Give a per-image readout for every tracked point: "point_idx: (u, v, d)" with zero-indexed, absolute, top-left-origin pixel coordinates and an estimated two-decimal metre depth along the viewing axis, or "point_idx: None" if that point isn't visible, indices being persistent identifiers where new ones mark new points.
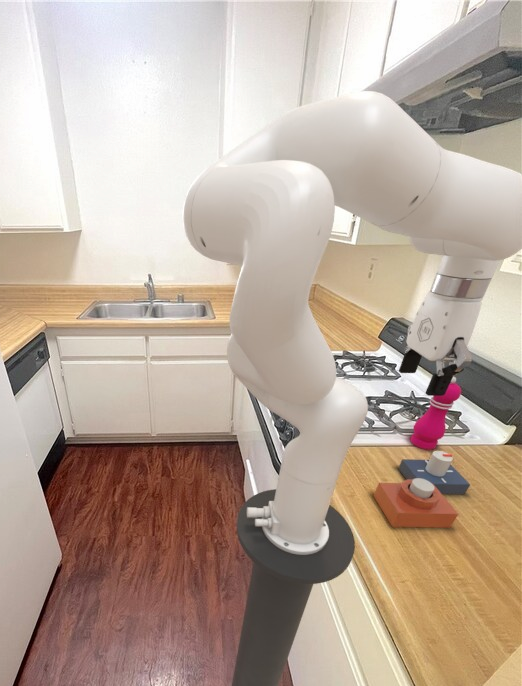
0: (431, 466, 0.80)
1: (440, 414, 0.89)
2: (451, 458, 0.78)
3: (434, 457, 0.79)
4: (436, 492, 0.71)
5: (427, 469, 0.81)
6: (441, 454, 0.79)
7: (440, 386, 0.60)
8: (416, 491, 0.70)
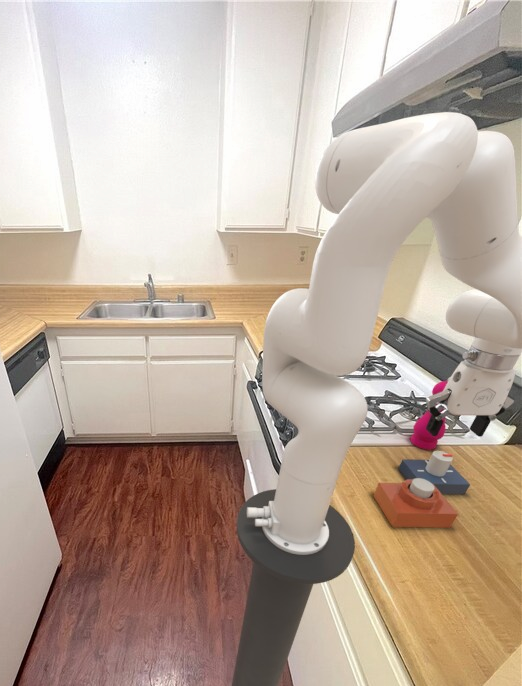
0: (431, 466, 0.80)
1: None
2: (451, 458, 0.78)
3: (434, 457, 0.79)
4: (436, 492, 0.71)
5: (427, 469, 0.81)
6: (441, 454, 0.79)
7: None
8: (416, 491, 0.70)
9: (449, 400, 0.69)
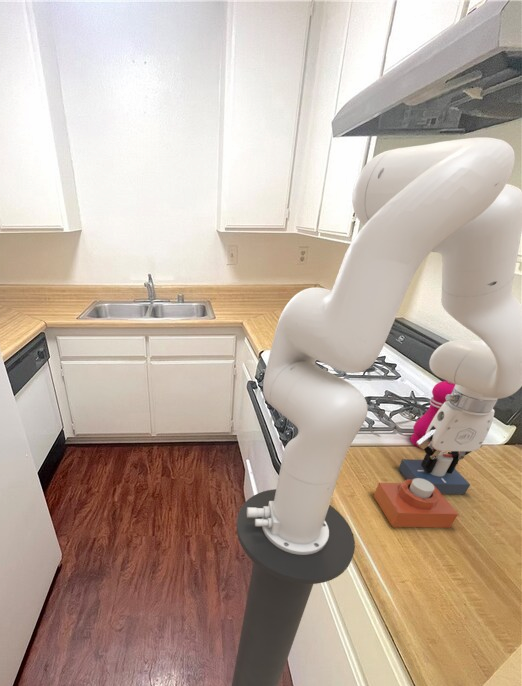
0: None
1: None
2: (451, 458, 0.78)
3: None
4: (436, 492, 0.71)
5: None
6: (441, 454, 0.79)
7: None
8: (416, 491, 0.70)
9: None
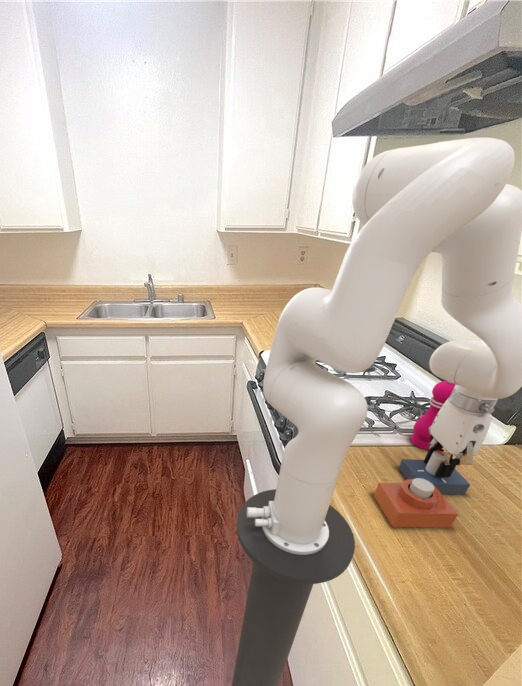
0: None
1: None
2: (443, 452, 0.80)
3: None
4: (436, 492, 0.71)
5: None
6: (440, 455, 0.79)
7: None
8: (416, 491, 0.70)
9: None
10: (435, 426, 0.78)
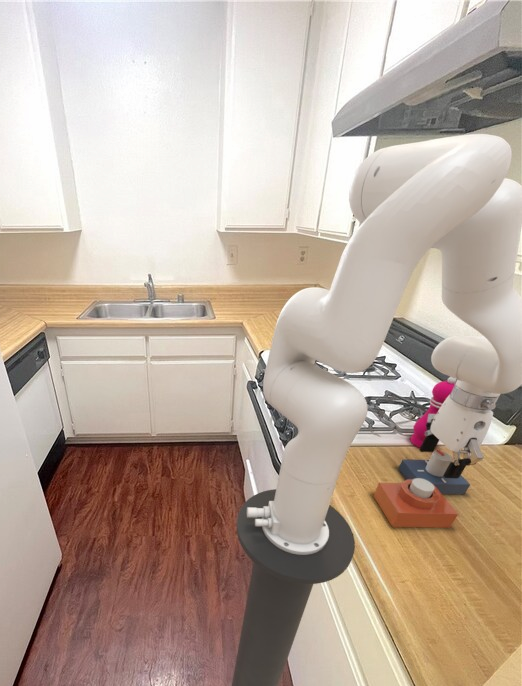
0: (445, 470, 0.78)
1: None
2: (443, 452, 0.80)
3: (448, 462, 0.77)
4: (436, 492, 0.71)
5: (441, 475, 0.79)
6: (440, 455, 0.79)
7: None
8: (416, 491, 0.70)
9: None
10: (436, 424, 0.77)
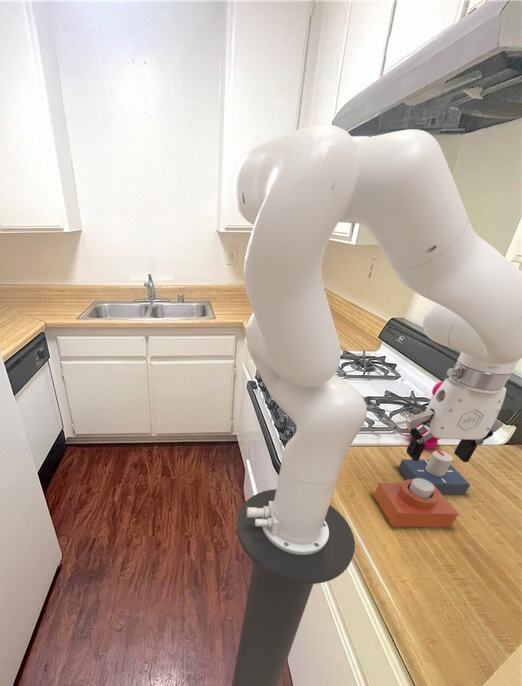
0: (445, 470, 0.78)
1: None
2: (443, 452, 0.80)
3: (448, 462, 0.77)
4: (436, 492, 0.71)
5: (441, 475, 0.79)
6: (440, 455, 0.79)
7: None
8: (416, 491, 0.70)
9: (432, 422, 0.61)
10: None
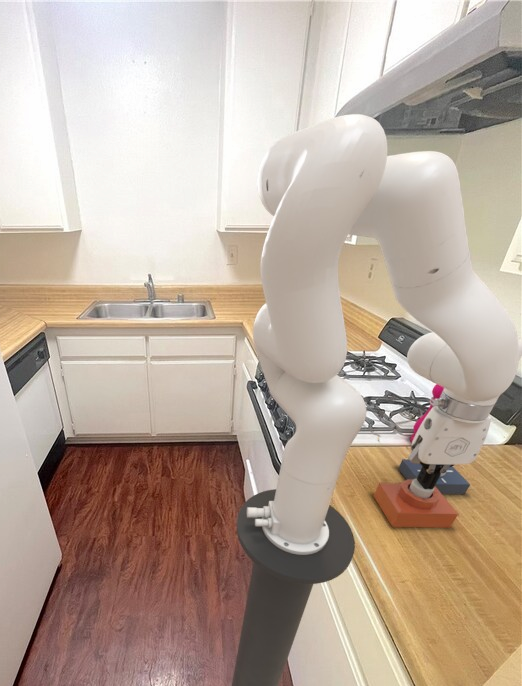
0: None
1: None
2: None
3: None
4: (436, 492, 0.71)
5: (441, 475, 0.79)
6: None
7: None
8: (416, 491, 0.70)
9: None
10: None
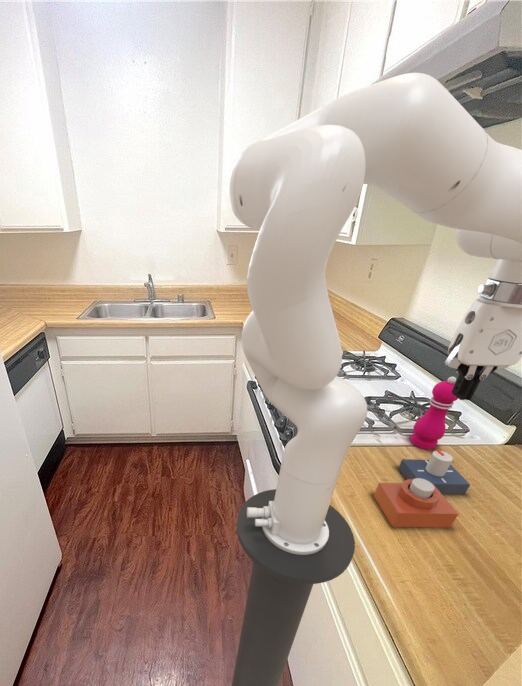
0: (445, 470, 0.78)
1: (440, 414, 0.89)
2: (443, 452, 0.80)
3: (448, 462, 0.77)
4: (436, 492, 0.71)
5: (441, 475, 0.79)
6: (440, 455, 0.79)
7: None
8: (416, 491, 0.70)
9: None
10: None
